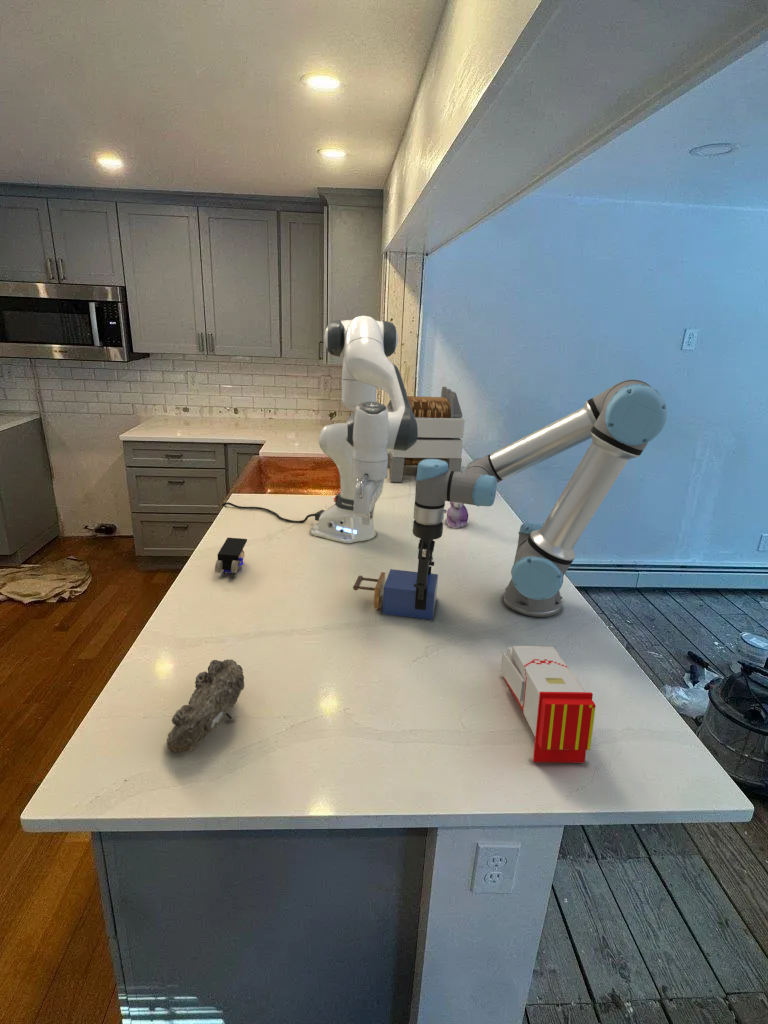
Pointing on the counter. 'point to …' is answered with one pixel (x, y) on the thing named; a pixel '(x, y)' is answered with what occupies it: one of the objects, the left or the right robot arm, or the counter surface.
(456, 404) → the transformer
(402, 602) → the blue square-sided box
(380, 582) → the wooden drawer
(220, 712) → the fossil
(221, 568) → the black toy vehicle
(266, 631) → the counter surface
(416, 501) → the right robot arm
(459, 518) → the figurine
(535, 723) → the toy
